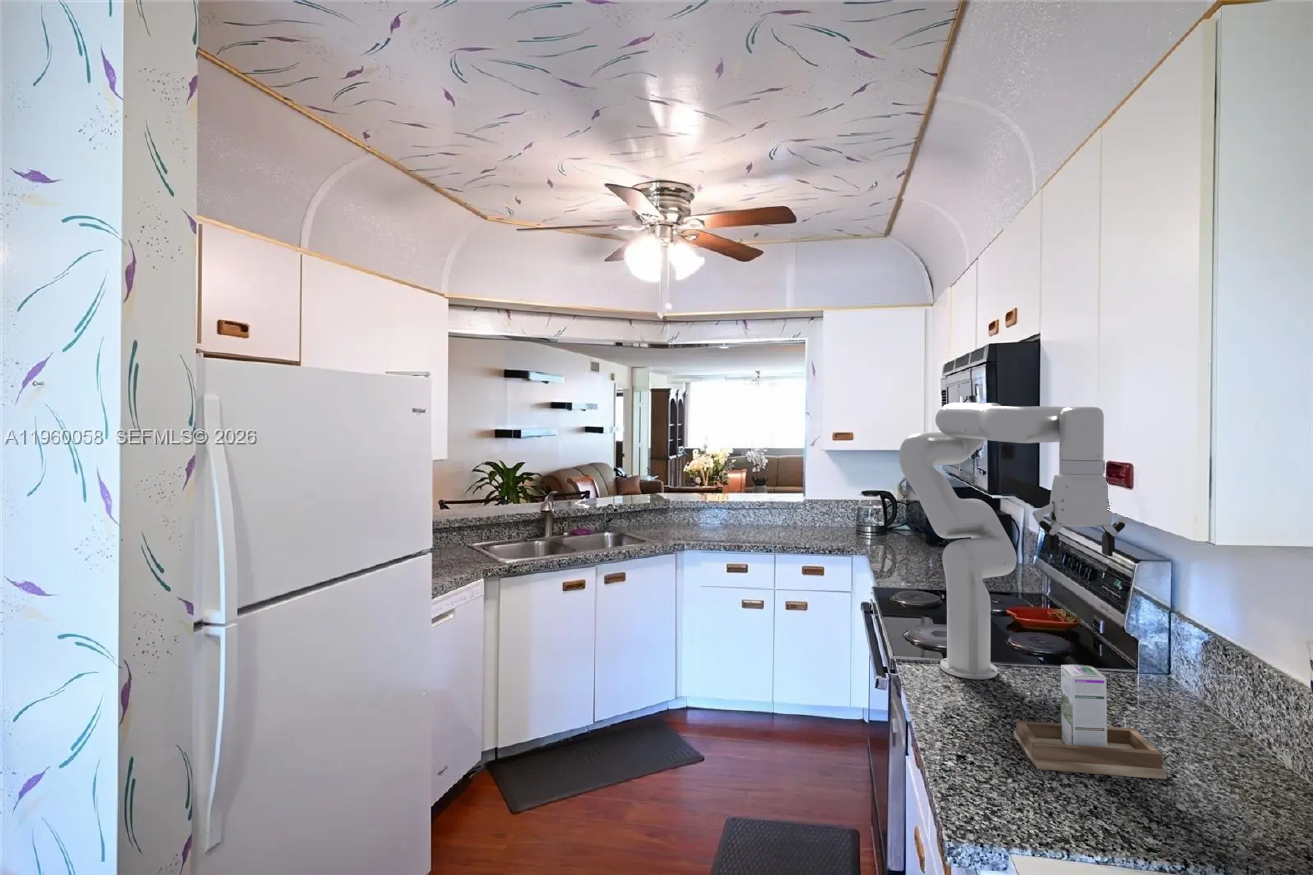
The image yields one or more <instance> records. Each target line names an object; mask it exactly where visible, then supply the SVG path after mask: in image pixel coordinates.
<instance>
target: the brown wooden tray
mask: <svg viewBox="0 0 1313 875" xmlns="http://www.w3.org/2000/svg"><path fill="white" fill-rule="evenodd" d="M1015 727H1016V728H1015V729H1014V730H1013V736H1014V739H1016V740H1017V742H1018V744H1019V745H1020V746H1021V748H1022V750H1023V751H1024V752H1025V754H1026V755H1027V756H1028V759H1030V761H1031V762H1032V764H1033V765H1034V766H1035V768H1036V770H1045V771H1054V772H1055V771H1057V772H1067V773H1068V772H1070V773H1081V774H1083V773H1084V774H1092V775H1093V774H1095V775H1096V774H1097V775H1106V776H1107V775H1108V776H1120V777H1121V776H1122V777H1134V778H1143V779H1144V778H1146V779H1161V780H1168V772H1166V771H1165V770H1164V769H1163V754H1162V753H1161V751H1160V750H1158V749H1157V748H1156V747H1155V746H1154V745H1153V744H1151V743H1150V742H1149V741H1148V740H1147V739H1146V738H1145V737H1144V736H1143V735H1142V734H1141V733H1139V731H1137V729H1135V728H1133V727H1132V728H1131V727H1121V726H1119V727H1117V726H1107V747H1095V746H1081V745H1067V744H1063V742H1062V741H1061V723H1059V722H1058V723H1057V722H1046V721H1045V722H1042V721H1030V720H1029V721H1028V720H1027V721H1026V720H1016V721H1015Z"/></svg>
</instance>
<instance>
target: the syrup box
mask: <svg viewBox="0 0 1313 875" xmlns="http://www.w3.org/2000/svg"><path fill="white" fill-rule="evenodd" d="M1107 692H1108V691H1107V677H1106V676H1105V675H1104V674H1103V673H1101V672H1100V671H1099V670H1098V669H1096V668H1095V667H1094V666H1092V665H1085V664H1061V665H1060V702H1061V703H1060V709H1061V710H1060V720H1061V721H1060V722H1061V723H1060V724H1061V741H1062V742H1063V744H1067V745H1081V746H1095V747H1107V727H1108V705H1107V704H1108V702H1107V701H1108V700H1107V699H1108V698H1107Z"/></svg>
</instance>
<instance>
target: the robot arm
mask: <svg viewBox="0 0 1313 875" xmlns="http://www.w3.org/2000/svg"><path fill="white" fill-rule="evenodd" d="M935 414H936V415H935V418H934V420H935V425H936V427H937V429H938V431H933V432H932V431H930V432H919V433H913V434H910V435H909V436H907V437H906V438H905V439H904V440H903V441H902V443H901V445H900V448H899V452H898V453H899V454H898V457H899V458H898V460H899V465H900V469H901V472H902V473H903V476H904V477H905V480H906V481H907V482H908V484H909V485H910V487H911V488H912V490H913V491H914V493H915V495H916V497H917V498H918V501H919V503H920V505H921V507H922V509H923V512H924V514H925V516H926V517H927V519H928V522H929V523H930V525H931V528H932V529H933V531H934V532H935V534H936V535H937V536H939V537H940V538H942V539H957V540H954V541H952V542H950V543H949V544H947V545H946V546H945V548H944V549H943V551H942V556H941V558H942V559H941V560H942V565H943V570H944V571H943V572H944V576H945V582H946V584H945V585H946V657H945V658H943V659H941V660H940V661H939V667H940V669H941V670H942V671H943V672H945V673H947V674H949V675H951V676H954V677H958V678H963V679H968V680H990V679H993V678H995V677H997V676H998V671H999V670H998V667H997V666H995V665H994V664H993V663H991V618H992V617H991V615H992V614H991V596H990V592H989V591H988V589H987V587H986V584H985V582H984V581H983V580H984V579H987V578H989V579H990V578H995V577H1003V576H1006V575H1009V574H1010V573H1012V572H1013V571H1015V568H1016V566H1017V553H1016V549H1015V548H1014V545H1013V542H1012V541H1011V539H1010V536H1008V534H1007V532H1006V530H1005V529H1004V527H1003V525H1002V522H1001V521H1000V518H999V517H998V515H997V514H996V512H995V511H994V509H993V508H992V507H991V506H990V505H989V504H988V503H986V502H985V501H983V500H982V499H978V498H961V497H958V495H957V493H956V492H955V490H954V489H953V487H952V485H951V483H950V481H949V480H948V479H947V477H945V476H944V475H943V474H942V473H941V472H940V471H938V470H937V469H936V468H935V467H934V466H949V465H951V466H952V465H953V466H954V465H958V464H961V463H964V462H965V461H966V460H967V461H968V459H969V458H971V456H972V455H973V454H974V453H975V452H976V451H977V450H978V449H979V448H980V447H981V446H982V445H983V444H984V443H985V442H986V441H992V442H993V441H994V442H995V441H996V442H1005V443H1015V444H1016V443H1017V444H1037V443H1038V444H1039V443H1040V444H1041V443H1045V444H1047V443H1048V444H1049V443H1059V446H1058V447H1059V449H1058V453H1059V456H1058V461H1059V463H1058V465H1059V466H1058V467H1059V468H1058V470H1059V473H1058V474H1054V475H1053V479H1052V485H1051V491H1050V499H1049V504H1047V505H1045V506H1042V507H1041V508H1038V509H1035V511H1032V516H1033V518H1034V519H1035V521H1036V523H1037V526H1039V527H1040V528H1041V529H1042V530H1043V531H1044V532H1045V533H1046V549H1047V551H1049V553H1050V554H1052V555H1054V556H1060V555H1059V554H1060V536H1059V535H1058V534H1057V533H1058V532H1059V531H1060V530H1061V529H1062V528H1063V527H1091V528H1092V527H1099V528H1100V529H1101V530H1102V531H1103V532H1104V533H1102V535H1101V554H1103V555H1105V556H1107V557H1110V558H1111V557H1113V556H1114V554H1113V552H1115V549H1116V537H1117V536H1118V535H1119V533H1120V532H1121V531H1122V530H1123V529H1124V528H1126V524H1127V523H1128V522H1129V519H1130V518H1128V517H1123V516H1121V515H1118V514H1117V513H1112V512H1111V511H1109V510H1110V508H1108V507H1110V505H1109V501H1108V500H1109V499H1108V485H1107V481H1106V477H1107V476H1106V477H1104V476H1105V475H1104V474H1105V472H1106V471H1105V463H1106V462H1105V460H1104V451H1105V450H1104V446H1105V444H1104V441H1105V440H1104V438H1105V437H1104V430H1105V427H1104V426H1105V424H1104V423H1105V422H1104V421H1105V418H1104V417H1105V416H1104V412H1103V410H1102V409H1101V408H1100V407H1098V406H1069V407H1067V406H1065V407H1064V406H1045V405H1043V406H1040V405H1039V406H1002V405H1001V404H999V403H997V402H979V401H978V402H975V401H974V402H972V401H971V402H970V401H969V402H967V401H965V402H960V401H959V402H951V403H948V404H945V405H943V406H942V407H941V408H939V409H938V411H937V413H935ZM939 431H940V432H939ZM1107 509H1109V510H1107ZM1045 515H1048V517H1049V518H1048V519H1049V520H1050V521H1051V522H1050V523H1048V522H1046V520H1045V518H1044V516H1045ZM1113 515H1115V516H1117V517H1118V518H1117V521H1115V522H1114V523H1113V524H1112V520H1113ZM960 538H961V539H960Z"/></svg>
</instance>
